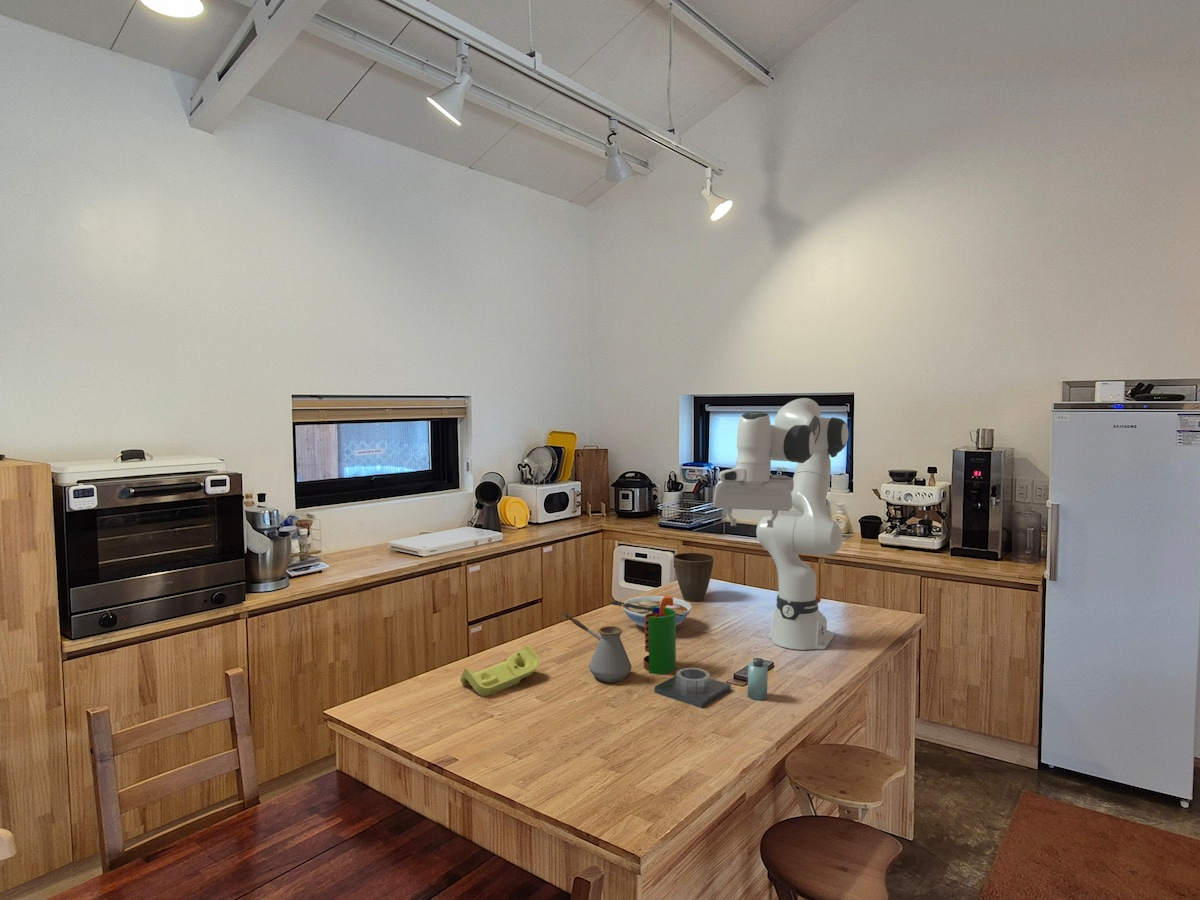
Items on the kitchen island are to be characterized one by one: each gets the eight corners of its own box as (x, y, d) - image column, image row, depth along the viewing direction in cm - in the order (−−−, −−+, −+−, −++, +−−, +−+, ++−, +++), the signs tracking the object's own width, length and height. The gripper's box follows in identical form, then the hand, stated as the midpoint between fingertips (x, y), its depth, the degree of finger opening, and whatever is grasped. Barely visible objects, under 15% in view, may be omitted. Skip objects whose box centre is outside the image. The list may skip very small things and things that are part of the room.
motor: (641, 661, 204) (641, 592, 202) (672, 660, 204) (673, 591, 203) (646, 674, 194) (647, 602, 192) (679, 673, 194) (679, 601, 193)
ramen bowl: (706, 624, 237) (706, 600, 236) (675, 644, 218) (675, 618, 217) (640, 612, 250) (640, 589, 250) (605, 629, 231) (605, 605, 230)
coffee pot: (639, 674, 194) (639, 620, 193) (617, 688, 184) (618, 631, 183) (573, 658, 205) (573, 607, 204) (550, 671, 195) (550, 618, 194)
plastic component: (483, 690, 177) (462, 663, 183) (478, 711, 180) (458, 684, 186) (546, 665, 190) (525, 640, 196) (540, 685, 193) (520, 660, 199)
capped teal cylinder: (753, 690, 183) (754, 654, 183) (770, 695, 180) (771, 659, 179) (744, 696, 180) (744, 659, 179) (761, 702, 176) (762, 664, 176)
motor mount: (684, 676, 193) (685, 660, 192) (730, 690, 184) (731, 673, 183) (654, 692, 182) (654, 675, 182) (701, 707, 173) (701, 689, 173)
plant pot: (671, 603, 261) (672, 560, 260) (674, 592, 276) (674, 551, 275) (712, 605, 259) (713, 562, 258) (713, 594, 273) (714, 553, 272)
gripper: (792, 474, 189) (791, 526, 189) (714, 471, 192) (713, 523, 193) (795, 476, 182) (793, 530, 183) (714, 473, 186) (712, 526, 187)
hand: (751, 526), depth 188 cm, fingers open, 8 cm apart
